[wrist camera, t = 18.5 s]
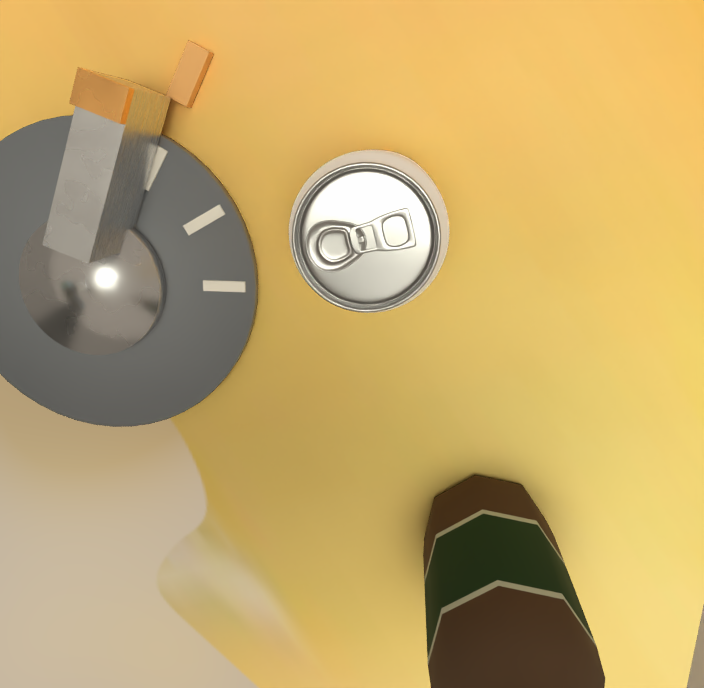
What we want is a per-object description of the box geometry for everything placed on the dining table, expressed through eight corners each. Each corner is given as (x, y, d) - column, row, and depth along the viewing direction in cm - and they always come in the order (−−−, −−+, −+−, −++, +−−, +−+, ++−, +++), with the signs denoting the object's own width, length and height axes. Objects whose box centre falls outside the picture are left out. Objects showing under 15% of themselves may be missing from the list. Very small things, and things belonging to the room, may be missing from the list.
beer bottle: (433, 586, 42) (464, 1103, 19) (411, 480, 40) (417, 917, 17) (554, 570, 41) (741, 1098, 18) (538, 461, 39) (725, 899, 16)
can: (308, 167, 35) (259, 174, 24) (424, 136, 34) (432, 129, 23) (337, 281, 37) (305, 339, 25) (449, 254, 36) (468, 303, 25)
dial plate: (-18, 413, 41) (-29, 420, 40) (-65, 113, 36) (-79, 112, 35) (261, 427, 40) (257, 435, 39) (254, 118, 35) (249, 117, 34)
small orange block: (191, 107, 35) (186, 106, 34) (170, 96, 35) (165, 95, 34) (213, 54, 34) (209, 51, 33) (193, 42, 34) (188, 40, 33)
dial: (144, 370, 38) (103, 403, 33) (15, 319, 38) (-45, 345, 33) (221, 118, 34) (188, 112, 29) (76, 59, 33) (17, 42, 28)
